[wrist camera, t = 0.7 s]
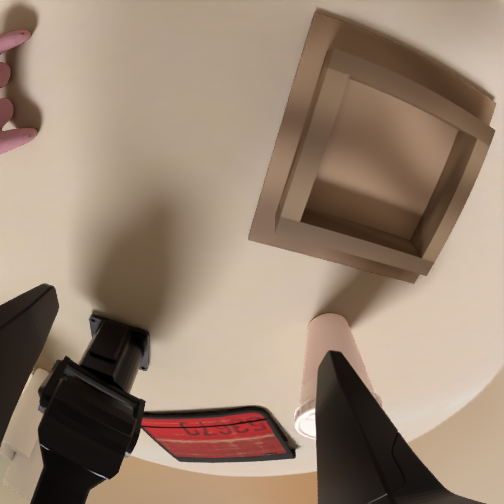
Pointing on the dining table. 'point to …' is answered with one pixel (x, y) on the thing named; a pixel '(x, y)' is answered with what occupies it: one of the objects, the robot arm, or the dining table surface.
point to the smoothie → (317, 344)
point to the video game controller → (3, 108)
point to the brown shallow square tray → (371, 154)
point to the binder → (219, 436)
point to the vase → (24, 440)
